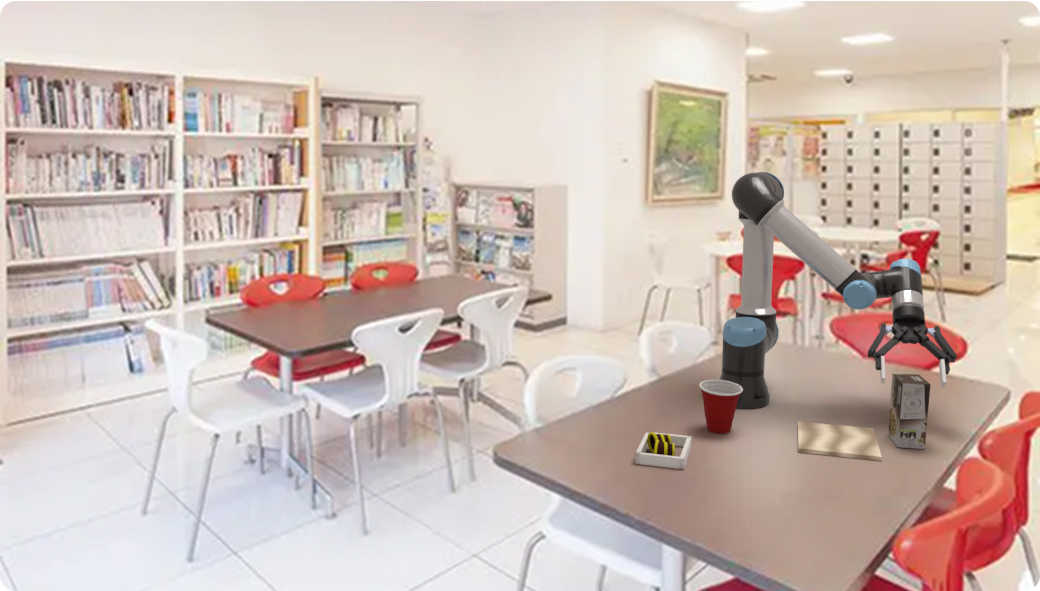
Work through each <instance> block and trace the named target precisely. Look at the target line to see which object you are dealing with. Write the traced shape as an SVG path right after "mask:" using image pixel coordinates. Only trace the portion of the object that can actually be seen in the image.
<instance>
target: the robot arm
mask: <svg viewBox="0 0 1040 591" xmlns="http://www.w3.org/2000/svg"><path fill="white" fill-rule="evenodd" d="M784 196H785V187H784V184H783V183H782V181H781V180H780V179H779V177H777V176H776V175H774V174H772V173H770V172H767V171H766V172H765V171H760V172H759V171H758V172H757V171H756V172H749V173H746V174H744V175H742V176H740V177H739V178H738V179H737V180H736V181H735V183H734V184H733V187H732V189H731V199H732V203H733V205H734V206H735V208H736V209H737V210H738V220H739V222H740V223H741V224H743V235H742V236H743V237H742V268H741V269H742V270H741V300H740V301H741V303H740V305H739V306H738V307H737V308H736V309H735V318H734V317H733V318H729V319H728V320H726V321H725V323H724V325H723V330H722V352H721V353H722V355H721V356H722V357H721V358H722V359H721V374H720V377H719V379H718V380H725V381H730V382H733V383H736V384H738V385H740V386H741V387H742V388H743V391H742V392H741V394H740V396H739V399H738V401H737V406H736V409H758V408H763V407H766V406H768V405H769V404H770V392H769V389H768V386H767V382H766V379H765V361H766V353H768V352H769V351H770V350H772V349H773V347H775V345H776V343H777V341H778V339H779V334H780V333H779V326H778V324H777V310H776V309H775V308H774V307H773V305H772V291H773V267H774V266H773V265H774V245H775V244H774V243H775V242H774V241H775V238H776V239H777V240H778V241H780V242H781V244H783V245H784V246H785V247H786V248H787V249H788V250H790V251H791V252H792V253H793V254H794V255H795V256H796V257H797V258H799V259H800V261H802V262H803V263H804V264H805V265H806V266H808V268H810V269H812V270H813V272H814V273H815V274H817V275H818V276H819V277H820V278H821V279H823V280H824V282H826V283H827V284H828V285H829V286H830V287H831V288H833V289H834V290H835V291H836V292H837V293H838V294H839V295H840V296H841V297H842V298H843V302H844V303H845V305H847V306H848V307H849V308H851V309H853V310H856V311H857V310H865V309H867V308H869V307H870V306H872V305H873V304H874V303H875V301H876V300H879V299H885V298H886V299H888V298H891V308H892V309H891V311H892V325H891V326H889V325H887V324H886V323H881V325H880V328H879V332H878V334H877V335H876V337H875V339H874V341H873V342H871V343H872V344H871V346H870V347H869V349H868V351H867V357H868V358H873V359H874V363H875V364H874V366H875V369H876V371H880V372H879V373H880V384H885V381H886V366H885V365H886V363H885V362H886V358H885V355H886V354H887V353H888V352H890V350H892V349H893V348H894V347H896V346H897V345H898V344H899V343H902V344H913V345H917V344H919V345H920V346H921V347H924V348H925V349H926V350H927V351H929V352H930V354H932V355H933V357H935V358H936V359H937V360H938V361H939V363H938V369H939V380H940V388H945V387H946V385H947V375H949V374H950V371H951V368H950V366H951V365H950V363H955V362H956V360H957V358H958V355H957V352H955V350H954V349H953V348H952V346H951V345H950V344H949V342H948V341H947V340H946V338H945V337H944V335H943V334H942V332H941V329H940V326H939V325H935V326H934V327H927V326H926V318H925V317H926V316H925V304H924V296H923V295H924V293H923V277H922V273H921V272H922V271H921V266H920V265H919V263H918V261H915V260H913V259H910V258H901V259H897V260H896V261H893V262H892V263H891V264H889V265H890V266H889V269H885V270H880V271H870V272H862V273H861V272H860V271H859V270H857V269H856V267H855V266H853V265H852V264H851V263H850V262H849V261H848V260H847V259H845V258H844V257H843V256H842V255H841V254H840V253H839V252H837V251H836V250H835V249H834V248H833V247H832V246H830V245H829V244H828V243H827V242H826V241H825V240H823V238H821V237H820V236H819V235H818V234H816V232H815V231H813V230H812V229H811V228H810V227H809V226H807V224H806V223H804V222H803V221H802V220H801V219H800V218H799V217H798V216H796V215H795V214H794V213H793V212H792V211H790V209H788V208H787V207H786V206H785V201H784ZM774 237H775V238H774ZM890 332H891V334H892V335H893V336H892V337H891V339H889V340H888V341H887V342H886V343H884V344H883V346H881V347H880V349H879V348H878V347H879V346H880V345H881V343H882V341H883V339H884V338H885V335H888V334H889V333H890ZM927 334H929V335H930V336H931V338H934V341H935V342H936V343H937V344H935V343H934V342H933V341H932V340H931V339H930V337H929V336H928V335H927Z"/></svg>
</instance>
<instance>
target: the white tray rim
mask: <svg viewBox="0 0 1040 591" xmlns="http://www.w3.org/2000/svg"><path fill="white" fill-rule="evenodd" d="M650 432H651V431H646V432H645V434H644V435H643V437H642V439H641V442H640V444H639V445H638V446H637V447H638V448H637V449H636V451H635V454H634V458H635V459H634V464H635V465H642V466H643V465H644V466H651V467H660V468H669V469H677V470H685V467H686V463H687V460H688V458H689V455H690V452H691V449H692V444H693V443H692V442H693V441H692V440H693V439H692V438H693V436H691V435H682V434H672V433H668V434H669V435H670V437H671V442H672V443H674V444H675V447H680V448H681V447H682V449H681V450H682V451H681V452H680V455H679V456H676V455H675V456H669V455H660V454H654V453H652V452H651V453H650V452H649V453H648V452H646V451H647V449H648V448H649V447H648V444H647V436H648V434H649V433H650ZM654 433H655V434H665V435H666V434H667V433H661V432H654ZM647 447H648V448H647Z"/></svg>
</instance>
